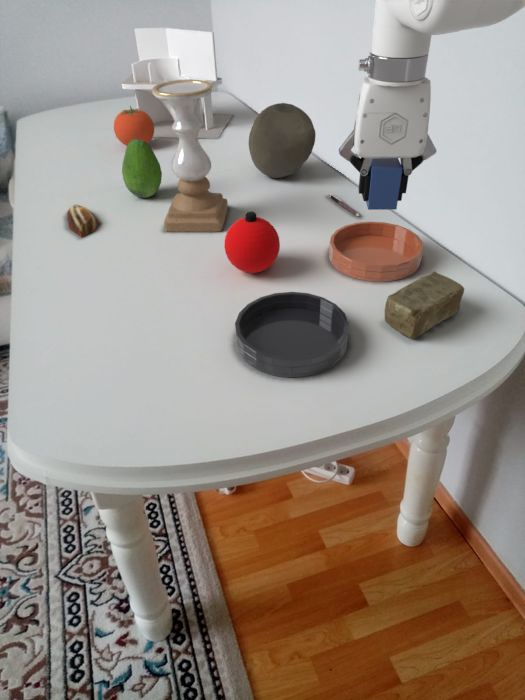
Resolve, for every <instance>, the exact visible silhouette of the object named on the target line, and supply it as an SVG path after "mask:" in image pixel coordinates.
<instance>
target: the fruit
mask: <svg viewBox="0 0 525 700" xmlns="http://www.w3.org/2000/svg"><path fill="white" fill-rule="evenodd" d="M124 152H125V153H124V156H123V159H122V168H121V174H122V180H123V183H124V185H125V187H126V188H127V190H128V191H129V192H130V193H131V194H132V195H133V196H135V197H137V198H143V199H145V198H146V199H147V198H150V197H152V196H154V195H155V194H156V193H157V192H158V191H159V189H160V187H161V184H162V176H163V173H162V167H161V165H160V162H159V160H158V158H157V156H156V154H155V152H154V151H153V149H152V148H151V145H150V144H149V143H146V142H145V141H143V140H140V139H133V140H131V141H130V143H129V144H128V145H127V146H126V148H125V151H124Z"/></svg>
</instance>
